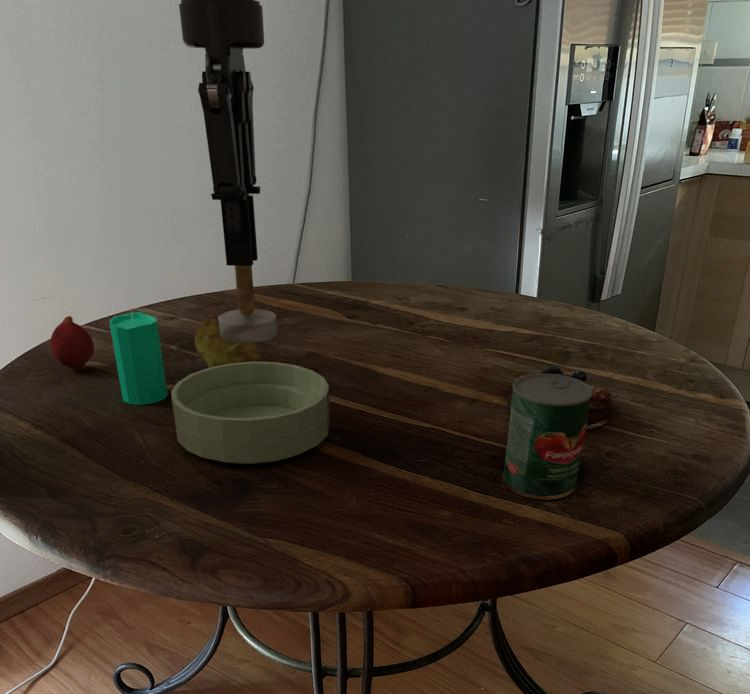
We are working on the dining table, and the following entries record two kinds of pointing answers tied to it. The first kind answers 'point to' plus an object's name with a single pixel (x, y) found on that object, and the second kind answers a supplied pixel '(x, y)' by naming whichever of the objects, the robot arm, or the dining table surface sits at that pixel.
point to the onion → (71, 344)
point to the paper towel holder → (247, 314)
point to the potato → (222, 346)
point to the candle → (138, 358)
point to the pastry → (598, 399)
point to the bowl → (251, 412)
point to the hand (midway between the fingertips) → (242, 261)
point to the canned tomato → (546, 433)
